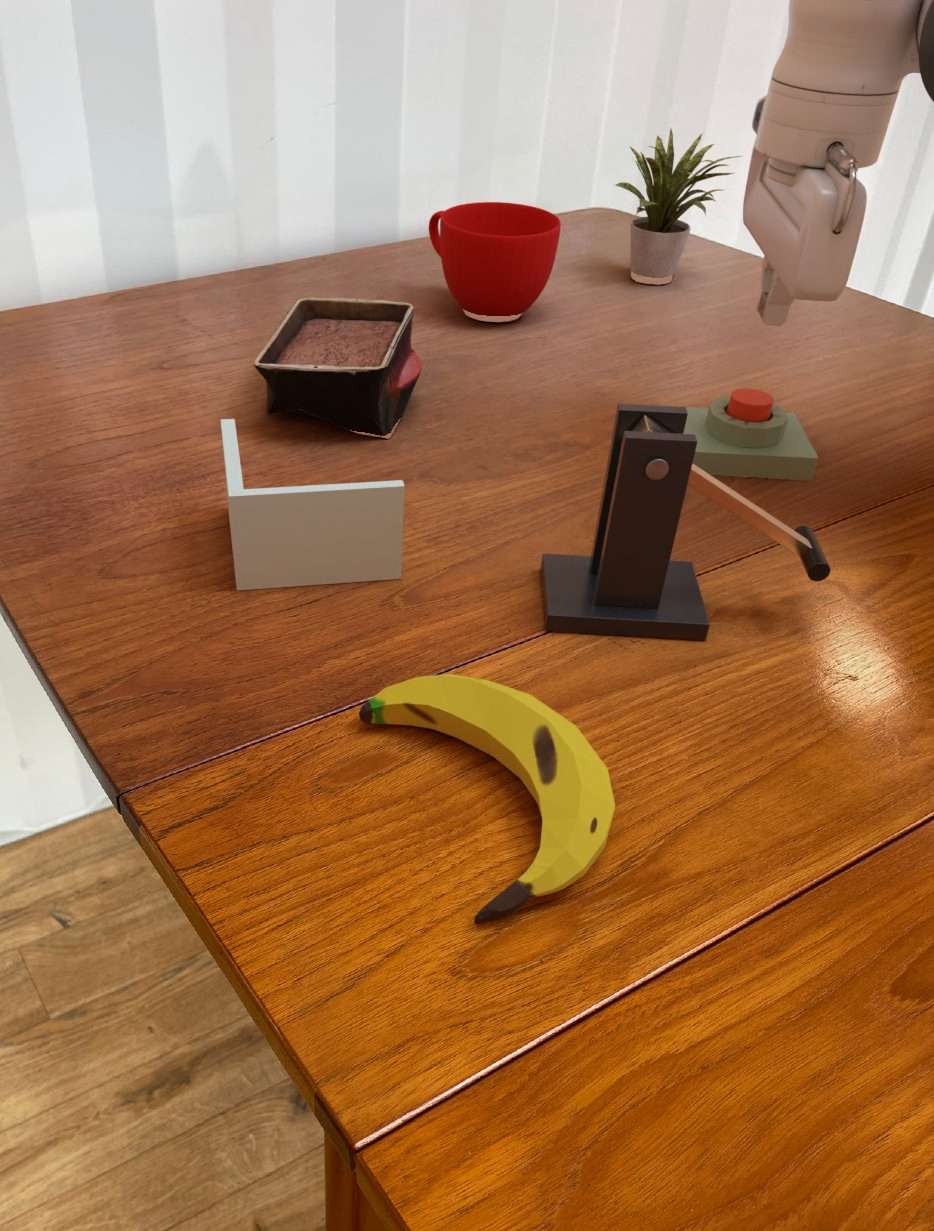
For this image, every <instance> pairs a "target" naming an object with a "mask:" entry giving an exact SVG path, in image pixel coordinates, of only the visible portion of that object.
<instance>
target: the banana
mask: <svg viewBox="0 0 934 1231" xmlns="http://www.w3.org/2000/svg"><path fill="white" fill-rule="evenodd" d="M358 716H359V720H360V721H362V722H363V723H364V724H367V725H369V726H370V725H372V724H380V725H381V724H382V725H395V726H396V725H398V726H399V725H400V726H402V725H403V726H411V727H419V728H425V729H431V730H434V731H438V732H440V733H443V734H445V735H448V736H451V737H452V738H453V737H454V738H456V739H458V740H460V741H463V742H465V743H466V744H468V745H470V746H471V747H474V748H475V749H478V750H479V751H482V752H484V753H485V754H487V755H489V756H491V757H493V758H494V759H496V760H497V761H498V762H499V763H500V764H502V765H503V766H504V767H505V768H507V769H508V771H510V772H511V773H512V774H514V775H515V776H516V777H517V778H519V779H520V781H521V782H522V783H523V784H524V786H525V788H526V789H527V790H528V792H529V793H530V795H531V796H532V798H533V799H534V801H535V802H536V803H537V804H536V805H537V806H538V809H539V810H538V811H539V812H540V816H541V820H542V822H541V831H540V832H541V833H540V834H541V835H540V843H539V844H540V845H539V849H538V851H537V853H536V856H535V858H534V860H533V861H532V862H531V864H530V866H529V867H528V868H527V870H526V871H525V872H524V873H522V875H521V876H519V878H517V879H516V880H515V881H513V882H512V883H511V884H510V885H508V886H507V887H506V888H504V889H503V890H502V891H501V892H499V893H498V894H497V895H496V896H495V897H493V898H492V899H490V901H488V903H486V904H485V905H484V906H483V907H482V908H481V909H480V910H479V911H478V912H477V913H476V914H475V917H474V922H473V923H474V925H477V926H478V925H479V926H480V925H483V924H486V923H488V922H493V921H497V920H500V919H503V918H505V917H507V916H509V915H512V914H514V913H515V912H516V911H518V910H519V909H520V908H521V907H523V906H524V905H525V904H526V902H528V901H529V900H530V899H532V898H537V897H543V896H547V895H551V894H554V893H557V892H559V891H562V890H564V889H565V888H567V887H569V886H571V885H572V884H573V883H575V882H577V881H578V880H580V879H581V878H582V877H584V876H585V875H586V873H587V872H588V871H589V870H590V868H591V867H592V866H593V865H594V863H595V862H596V860H597V859H598V858H599V856H600V855H601V854H602V852H603V851H604V850H605V848H606V845H607V842H608V837H609V833H610V830H611V826H612V824H613V823H612V822H613V819H614V814H615V809H616V803H615V802H616V801H615V797H614V793H613V788H612V784H611V778H610V774H609V769H608V767H607V766H606V764H605V763H604V762H603V761H602V760H603V759H601V757H600V756H599V755H598V753H597V752H596V751H595V749H594V748H593V746H592V745H591V744H590V742H589V740H587V739H586V737H585V736H584V734H583V733H582V732H581V729H579V728H578V726H577V725H575V724H574V723H572V722H571V721H570V720H569V719H567V718H565V717H564V716H562V715H561V714H559V713H558V712H557V711H555V710H554V709H552V708H551V707H550V706H548V705H546V704H545V703H544V702H543V701H541V700H539V699H538V698H536V697H535V696H533V695H532V694H530V693H527V692H524V691H521V690H519V689H515V688H512V687H509V686H506V685H504V684H502V683H497V682H495V681H491V680H490V679H489V680H488V679H484V678H477V677H471V676H465V675H461V674H460V675H459V674H453V673H445V674H434V675H425V676H424V675H423V676H416V677H414V678H411V679H407V680H404V681H402V682H398V683H396V684H393V685H389V686H385V687H384V688H383V689H381V690H380V691H379V692H377V693H376V694H375V695H374V696H372V697H371V698H370V699H368V700H367V701H366V702H365V703H364V704H363V705H361V706H360V709H359V711H358Z"/></svg>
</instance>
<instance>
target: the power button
mask: <svg viewBox="0 0 934 1231" xmlns="http://www.w3.org/2000/svg"><path fill="white" fill-rule="evenodd" d="M729 397H730V400H729V404H728V408H727V414H728V415H729V416H731V417H732V418H734V419H738V420H742V421H745V422H758V423H761V422H765V421H768V420H769V417H770V413H771V410H772V406H773V404H774V402H775V398H774V397H773V395H772V394H770V393H768V392H766V391H763V390H761V389H756V388H748V387H747V388H745V387H744V388H738V389H735V390H733V391H732V392H731V394H730V396H729Z"/></svg>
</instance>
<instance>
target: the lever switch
mask: <svg viewBox="0 0 934 1231" xmlns="http://www.w3.org/2000/svg"><path fill="white" fill-rule="evenodd" d="M632 431H638V432H657V433H671V432H669V431H668V430H666V429H665V428H663V427H662V426H660V425H659V424H657V423H656V422H654V421H653V420H651V419H650V418H648V417H647V416H645V415H644V417H643V418H642V419H641V420H640V421H639V423H638V424H637V425H636V426H635V427H634V429H633V430H632ZM621 446H622V443H621ZM687 486H689V487H691V488H693V489H694V490H695V491H697V492H699V493H700V494H702V495H703V496H705V497H706V498H708V499H710V500H711V501H713V502H714V503H716V504H717V505H719V506H720V507H721V508H723V509H725V510H726V511H728V512H729V513H731V514H732V515H734V516H736V518H739V519H740V520H742V521H743V522H745V523H746V524H748V525H749V526H751V527H753V528H754V529H755V530H757V531H758V532H760V533H761V534H763V535H765V536H766V537H768V538H769V539H771V541H774V542H775V543H776V544H779V545H780V546H781V547H783V548H784V549H785V550H788V551H789V552H791V553H792V554H793V555H794V556H797V557H798V558H799V559H800V561H801V563H802V566H803V568H804V570H805V572H806V575H807V577H808V579H809V580H810V581H812V582H822V581H824V580H826V579H827V578H828V577H829V576H830V574H831V566H830V565H829V564H830V563H828V561H827V558H826V556H825V554H824V551H823V549H822V547H821V545H820V544H819V541H818V538H817V536H816V535H815V533H814V530H813V529H812V528H811V526H808V525H800V526H797V527H796V528H795V529H793V528H791V527H789V526H788V525H786V524H784V523H783V521H780V520H779V519H778V518H776V517H775V516H773V515H772V514H770V513H768V512H767V511H765V510H764V509H762V508H761V507H759V506H758V505H757V504H755V503H753V502H752V501H750V500H748V499H747V498H746V497H744V496H743V495H741V494H740V493H739V492H737V491H736V490H734V489H732V488H730V487H729V486H728V485H726V484H724V483H723V482H722V481H720V480H719V479H717V478H716V477H715V476H711V475H709V474H708V473H706V472H705V471H703V470H702V469H700V468H699V467H697V466H696V465H694V464H693V463H692V468H691V472H690V476H689V480H688V485H687Z"/></svg>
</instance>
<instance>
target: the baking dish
mask: <svg viewBox="0 0 934 1231" xmlns="http://www.w3.org/2000/svg"><path fill="white" fill-rule="evenodd" d="M414 316H415V306H414V305H413V304H411V303H409V302H407V301H405V302H404V301H391V300H382V299H369V298H368V299H366V298H351V297H350V298H348V297H313V296H311V297H303V298H298V299H296V300H295V302H293V305H292V306H291V307H290V308H289V309H288V311H287V312H286V314H285V315H284V317H282V320H281V321H280V322H279V325H278V326H277V328H276V329H275V330H274V331H275V332H274V333H273V335H272V336H271V337H270V338H269V339H268V342H267V343H266V344H265V345H264V347H263V349H262V350H261V351H260V353H258V355H257V356H256V358H255V360H254V362H253V367H254V369H256V371H257V372H258V373H259V374H260V375H261V376H262V377H263V378H264V380H265V389H266V414H268V415H273V414H278V413H284V412H291V411H296V410H299V411H301V412H304V413H306V414H308V415H311V416H313V417H316V418H317V419H320V420H323V421H325V422H328V423H330V424H332V423H333V424H332V425H334V424H335V426H337V427H339V426H340V428H341V427H343V428H342V429H344V428H345V429H344V430H346V429H348V430H352V431H357V432H365V433H370V434H375V435H380V436H382V435H383V436H385V435H387V434H388V433H391V431H392V429H393V427H394V426H395V424H396V423H397V422H398V420H399V419H400V418H401V417H402V418H403V416H404V413H405V411H406V409H407V407H408V404H409V401H410V399H411V396H412V394H413V392H414V390H415V387H416V386H417V382H418V380H419V378H420V375H421V372H422V369H423V368H422V365H423V364H422V361H421V358H420V357H419V355H417V353H416V352H415V351H414V349H413V348H412V333H413V325H414ZM402 418H401V419H402ZM348 430H347V431H348Z"/></svg>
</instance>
